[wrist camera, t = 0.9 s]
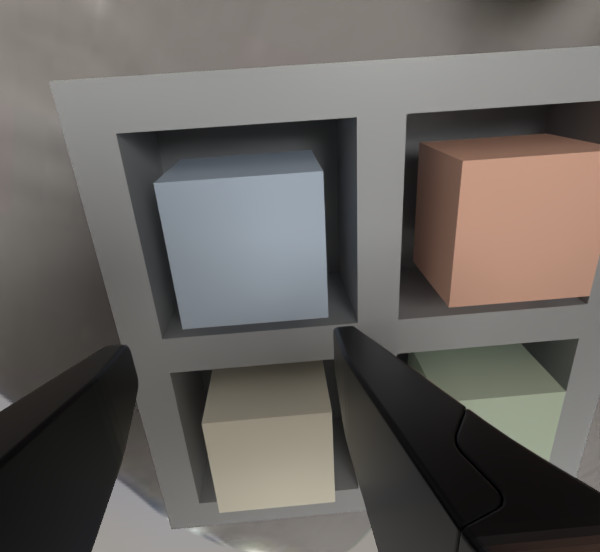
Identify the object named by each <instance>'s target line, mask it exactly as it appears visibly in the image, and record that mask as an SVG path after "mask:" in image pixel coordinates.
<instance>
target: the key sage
mask: <svg viewBox="0 0 600 552" xmlns="http://www.w3.org/2000/svg"><path fill="white" fill-rule="evenodd" d="M408 365H409V366H410V367H411V368H413V369H414V370H416V371H417V372H418V373H420V374H421V375H423V376H424V377H425V378H427V379H428V380H429V381H431V382H432V383H434V384H435V385H436V386H438V387H439V388H441V389H442V390H443V391H445V392H446V393H447V394H449V395H450V396H452V397H453V398H454V399H456V400H457V401H459V402H460V403H461V404H463V405H464V406H465V407H466V410H467V409H470V410H471V411H473V412H474V413H475V414H477V415H478V416H480V417H481V418H482V419H484V420H485V421H487V422H488V423H490V424H491V425H492V426H494V427H495V428H497V429H498V430H500V431H501V432H503V433H504V434H506V435H507V436H509V437H510V438H511V439H513V440H515V441H516V442H518V443H519V444H521V445H523V446H524V447H526V448H527V449H529V450H531V451H532V452H534V453H535V454H537V455H539V456H540V457H542V458H543V459H545V460H547V461H548V462H549V459H550V455H551V451H552V447H553V443H554V439H555V435H556V430H557V426H558V422H559V418H560V414H561V410H562V406H563V402H564V398H565V394H566V391H565V390H564V389H563V388H562V387H561V386H560V385H559V383H558V382H557V381H556V380H555V379H554V378H553V377H552V376H551V375H550V374H549V373H548V372H547V371H546V370H545V369H544V368H543V366H542V365H541V364H540V363H539V362H538V361H537V360H536V359H535V358H534V357H533V356H532V355H531V354H530V353H529V352H528V351H527V349H526V348H525V347H524V346H523V345H522V344H521V343H518V344H506V345H495V346H483V347H471V348H459V349H447V350H436V351H424V352H412V353H408Z"/></svg>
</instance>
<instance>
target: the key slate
mask: <svg viewBox="0 0 600 552" xmlns="http://www.w3.org/2000/svg"><path fill="white" fill-rule="evenodd" d="M153 184H154V189H155V194H156V199H157V204H158V209H159V214H160V219H161V224H162V229H163V234H164V239H165V244H166V249H167V254H168V259H169V264H170V269H171V274H172V279H173V284H174V289H175V294H176V299H177V304H178V309H179V314H180V319H181V324H182V329H193V328H206V327H218V326H230V325H242V324H255V323H267V322H279V321H291V320H303V319H316V318H328V317H329V316H328V289H327V262H326V234H325V207H324V179H323V170H322V168H321V166H320V164H319V163H318V161H317V159H316V157H315V155H314V154H313V152H312V150H302V151H288V152H274V153H260V154H245V155H231V156H217V157H203V158H188V159H180V160H179V161H178V162H177V163H176V164H174V165H173V166H172V167H171V168H170V169H169V170H168V171H167V172H165V173H164V174H163V175H162V176H161V177H160V178H159V179H158V180H156V181H155V182H154V183H153Z"/></svg>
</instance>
